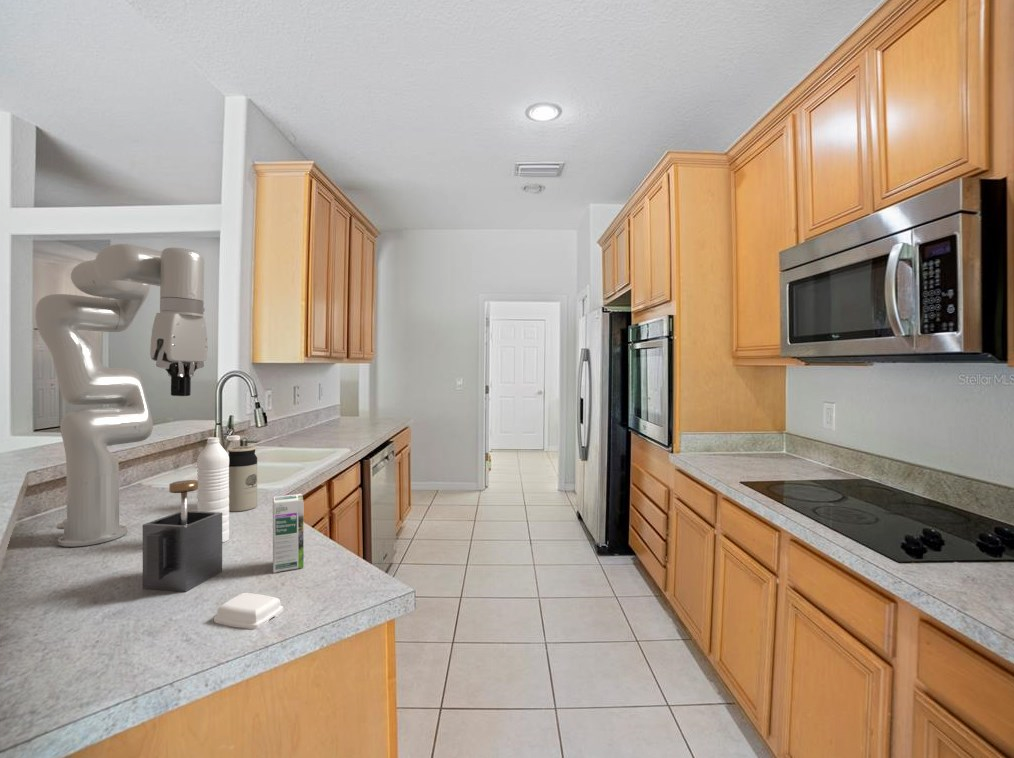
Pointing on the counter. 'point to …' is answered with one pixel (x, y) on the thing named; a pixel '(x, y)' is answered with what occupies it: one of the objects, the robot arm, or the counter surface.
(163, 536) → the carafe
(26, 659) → the counter surface
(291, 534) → the syrup box
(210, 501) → the water bottle
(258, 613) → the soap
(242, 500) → the travel mug
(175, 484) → the plunger
